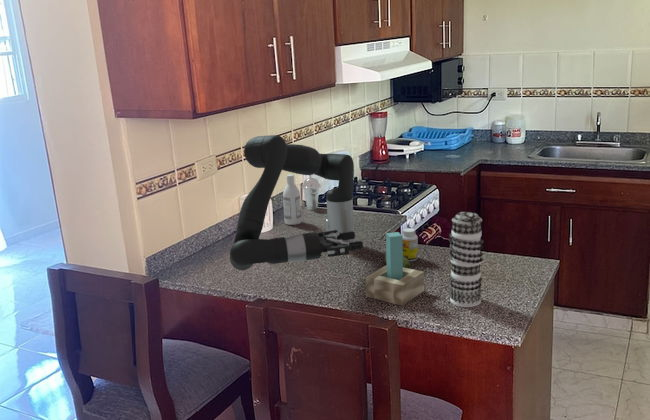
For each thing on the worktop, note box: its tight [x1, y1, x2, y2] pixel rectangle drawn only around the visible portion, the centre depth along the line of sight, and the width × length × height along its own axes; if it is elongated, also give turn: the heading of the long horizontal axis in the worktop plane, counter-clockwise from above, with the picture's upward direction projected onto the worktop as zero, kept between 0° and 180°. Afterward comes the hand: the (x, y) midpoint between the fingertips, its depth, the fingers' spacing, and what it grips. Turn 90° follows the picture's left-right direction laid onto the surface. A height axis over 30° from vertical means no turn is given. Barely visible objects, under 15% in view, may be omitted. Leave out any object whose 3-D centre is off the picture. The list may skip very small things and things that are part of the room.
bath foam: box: [282, 173, 302, 226], centre depth 249 cm, size 7×7×20 cm
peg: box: [385, 231, 403, 280], centre depth 175 cm, size 4×4×16 cm
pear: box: [384, 253, 411, 269], centre depth 198 cm, size 6×5×10 cm
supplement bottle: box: [401, 227, 419, 263], centre depth 203 cm, size 6×6×10 cm
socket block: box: [365, 264, 425, 306], centre depth 177 cm, size 12×12×6 cm
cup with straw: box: [301, 175, 321, 211], centre depth 269 cm, size 8×9×20 cm
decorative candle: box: [448, 211, 485, 308], centre depth 168 cm, size 9×9×25 cm
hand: (358, 239), depth 174 cm, fingers open, 8 cm apart
